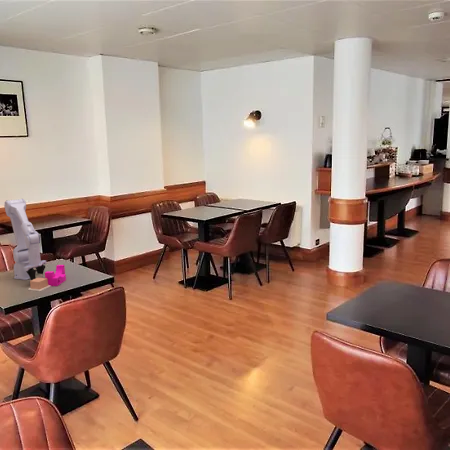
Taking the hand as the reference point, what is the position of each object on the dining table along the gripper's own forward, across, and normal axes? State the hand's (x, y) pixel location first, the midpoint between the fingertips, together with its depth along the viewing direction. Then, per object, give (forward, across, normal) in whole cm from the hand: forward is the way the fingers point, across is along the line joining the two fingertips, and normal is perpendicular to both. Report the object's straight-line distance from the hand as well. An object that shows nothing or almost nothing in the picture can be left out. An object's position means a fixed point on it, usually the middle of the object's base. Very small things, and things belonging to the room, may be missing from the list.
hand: (36, 280), depth 246 cm
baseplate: (+1, -7, -8) cm, 11 cm away
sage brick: (+2, 0, 0) cm, 2 cm away
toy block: (+2, +5, -10) cm, 11 cm away
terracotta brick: (+1, -7, -8) cm, 11 cm away
